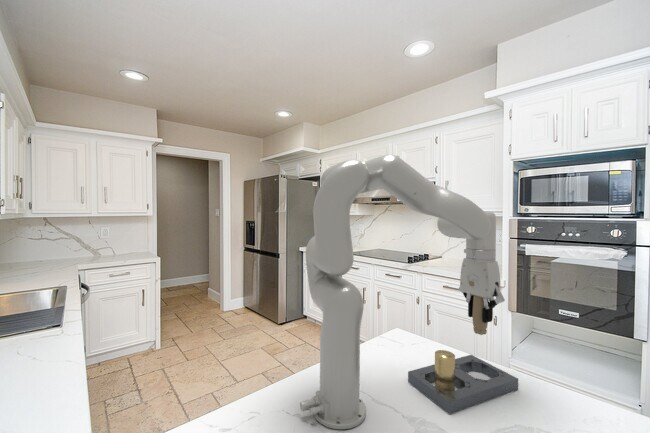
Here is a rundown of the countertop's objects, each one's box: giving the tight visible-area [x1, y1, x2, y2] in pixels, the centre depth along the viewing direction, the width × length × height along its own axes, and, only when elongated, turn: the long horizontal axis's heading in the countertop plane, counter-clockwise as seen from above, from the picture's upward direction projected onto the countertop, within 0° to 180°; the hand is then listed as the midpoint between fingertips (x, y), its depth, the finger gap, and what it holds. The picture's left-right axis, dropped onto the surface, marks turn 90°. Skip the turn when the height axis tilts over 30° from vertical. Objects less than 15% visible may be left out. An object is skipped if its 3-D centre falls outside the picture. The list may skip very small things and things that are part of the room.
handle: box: [469, 281, 489, 336], centre depth 86 cm, size 5×6×15 cm
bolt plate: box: [407, 354, 519, 415], centre depth 84 cm, size 25×15×3 cm, turn 114°
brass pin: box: [434, 349, 456, 392], centre depth 81 cm, size 5×5×10 cm
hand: (479, 318), depth 86 cm, fingers closed on handle, 4 cm apart
